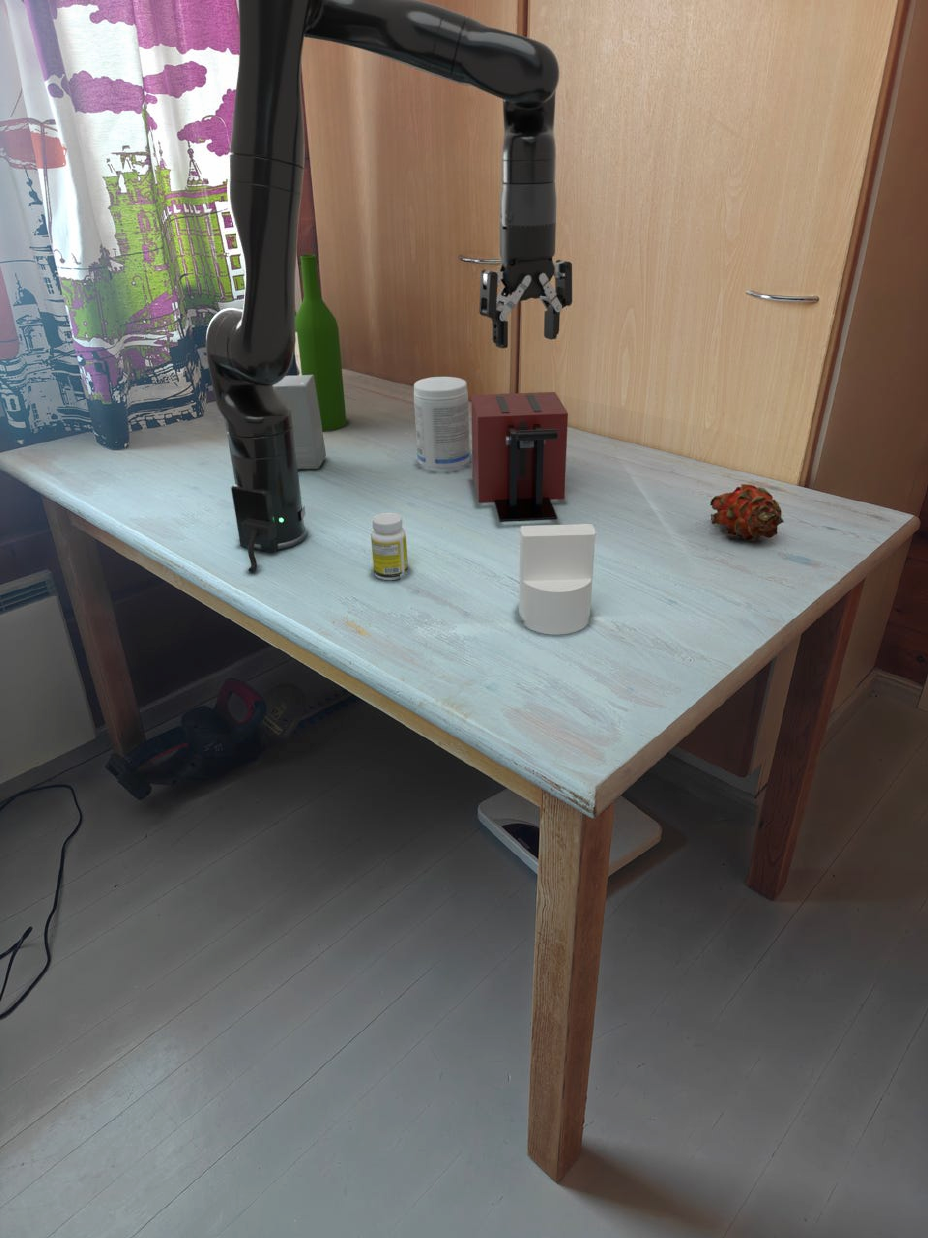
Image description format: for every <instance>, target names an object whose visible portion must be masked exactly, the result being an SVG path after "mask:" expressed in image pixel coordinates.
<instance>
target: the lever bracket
mask: <svg viewBox="0 0 928 1238" xmlns="http://www.w3.org/2000/svg"><path fill="white" fill-rule="evenodd" d="M533 430H542V428H541V426H540V424H533ZM516 432H517V431H516V429H515V426H514V425H508V436H506V438H505V442H506V446H507V499H503V500H494V502H493V503H494V508H495V511H496V515H497V518H498V522H499V523H509V522H510V523H511V522H512V523H513V522H531V521H532V522H533V521H551V520H555V521H557V520H558V516H557V513H556V511H555V508H554V505H553V503H552V500H550V499H549V497H547V498H542V487H543V454H544V444H545V442H546V440H536V441H534V448H533V463H532V498H525V499H517V445H518V441H517V438H516Z"/></svg>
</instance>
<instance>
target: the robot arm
mask: <svg viewBox="0 0 928 1238" xmlns="http://www.w3.org/2000/svg"><path fill="white" fill-rule="evenodd" d="M238 35H239V36H238V37H239V39H238V40H239V48H238V49H239V52H238V53H239V56H238V57H239V58H238V69H237V79H236V87H235V93H234V101H233V102H234V103H233V112H232V113H233V114H232V123H231V136H230V146H229V156H228V157H229V159H228V175H227V201H228V207H229V212H230V216H231V221H232V223H233V227H234V230H235V234H236V236H237V241H238V244H239V247H240V250H241V254H242V258H243V265H244V276H245V277H244V282H245V283H244V295H243V296H244V297H243V306H242V307H243V308H242V307H227V308H224V309H222V310H220V311H218V312H217V313H216V314H215V315H214V316H213V317H212V319H211V320H210V322H209V324H208V327H207V330H206V334H205V354H206V361H207V367H208V371H209V375H210V376H209V377H210V381H211V385H212V390H213V395H214V400H215V403H216V406H217V409H218V410H219V413H220V415H221V416H222V418H223V420H224V425H225V430H226V434H227V443H228V446H229V447H228V448H229V454H230V461H231V468H232V472H233V480H234V484H233V485H232V486H231V487H230V491H231V497H232V503H233V509H234V516H235V521H236V528H237V535H238V542H239V546H240V547H244V548H247V555H248V558H249V562H250V567H248V572H249V573H250V574H253V573H254V572H255V571H257V567H258V562H257V559H256V555H255V550H258V551H262V552H267V553H272V554H273V553H276V552H277V551H279V550H283V549H284V550H285V549H288V548H292V547H294V546H296V545H298V544H300V543H302V542H303V541H304V540H305V539H306V536H307V530H306V526H305V516H306V507H305V505H303V503H302V494H301V487H300V478H299V477H300V476H299V469H298V468H297V459H296V451H295V442H294V433H293V425H292V416H291V411H290V408H289V406H288V405H287V403H286V402H285V401H284V400H283V399H282V398H281V397H280V396H279V395H278V393H277V392H276V390H275V389H274V387H273V385H274V384H276V383H278V382H280V381H281V380H282V379H283V378H284V377H285V376H287V375H288V373H289V372H290V370H291V367H292V364H293V361H294V356H295V317H296V269H297V268H296V267H297V257H298V256H297V255H298V238H299V223H300V215H301V204H302V197H303V187H304V186H303V185H304V174H305V159H306V158H305V157H306V151H305V150H306V149H305V146H306V144H305V125H304V124H305V123H304V111H303V98H302V86H301V85H302V84H301V83H302V82H301V75H302V74H301V73H302V71H301V70H302V57H303V48H304V41H305V38H307V39H313V40H320V41H325V42H331V43H335V44H340V45H345V46H348V47H353V48H356V49H359V50H364V51H367V52H369V53H372V54H375V55H376V54H377V55H378V56H381V57H385V58H387V59H390V60H392V61H395V62H397V63H398V62H399V63H400V64H403V65H405V66H409V67H411V68H414V69H416V70H419V71H422V72H424V73H427V74H430V75H433V76H435V77H438V78H441V79H444V80H447V81H449V82H450V81H451V82H452V83H456V84H458V85H464V86H469V87H474V88H476V89H478V90H480V91H483V92H485V93H488V94H490V95H492V96H494V97H497V98H499V99H501V100H502V117H503V139H502V148H501V189H500V196H499V197H500V199H499V255H500V259H501V265H500V268H499V270H489V269H482V270H481V271H480V281H479V282H480V283H479V308H478V310H479V311H478V312H479V315H480V316H483V317H485V318H489V319H491V322H492V324H491V325H492V342H493V344H495V346H496V347H497V348H500V349H501V350H502V349H507V348H508V346H509V321H508V320H507V319H508V317H509V315H510V313H511V311H512V309H514V308H515V307H517V305H518V303H519V301H521V302H523V301H528V300H530V299H533V300H535V299H536V300H537V299H539V300H540V301H541V303H542V304H543V306H544V308H545V309H546V310H544V316H543V317H544V319H543V320H544V321H543V326H544V327H543V336H544V338H545V339H548V340H556V339H557V337H558V335H559V333H560V321H561V319H560V318H561V317H560V316H561V311H562V310H563V308H566V307H570V306H572V304H573V263H572V262H571V261H567V260H561V259H556V261H555V262H554V261H553V257H554V256H555V255H556V234H557V233H556V230H557V191H556V190H557V189H556V167H557V166H556V164H557V146H556V138H555V133H554V131H555V130H554V129H555V111H556V96H557V95H556V93H557V88H558V85H559V82H560V66H559V61H558V58H557V56H556V54H555V53H554V52H553V50H552V49H551V48H550V47H549V46H548V45H546V44H545V43H543V42H541V41H539V40H536V39H533V38H529V37H526V36H524V35H520V34H517V33H514V32H510V31H506V30H503V29H500V28H495V27H491V26H488V25H487V24H485V23H482V22H480V21H479V20H477V19H474V18H472V17H470V16H467V15H465V14H462V13H459V12H456V11H454V10H451V9H448V8H446V7H444V6H440V5H438V4H436V3H435V4H434V3H431V2H428V1H424V0H238ZM553 277H554V287H553V286H552V284H551V283H550V281H551V280H552V279H553ZM501 283H502V286H501V289H500V290H499V292H498V287H500V285H501Z"/></svg>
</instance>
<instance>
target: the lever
mask: <svg viewBox="0 0 928 1238" xmlns="http://www.w3.org/2000/svg"><path fill="white" fill-rule="evenodd" d="M516 438H517V441H518V445H517V449H529V448H534V441H536V440H557V438H558V432H557V429H545V430H521V431H517V432H516Z"/></svg>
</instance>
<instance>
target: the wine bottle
mask: <svg viewBox="0 0 928 1238" xmlns="http://www.w3.org/2000/svg"><path fill="white" fill-rule="evenodd" d="M299 258H300V266H301V280H302V289H303V299H302V302H301V304H300V306H299V308H298V310H297V312H296V313H295V351H294V356H295V367H296V374H297V375H296V376H299V375H314V379H315V386H316V392H317V399H318V406H319V412H320V419H321V425H322V432H329V431H334V430H338V429H342V428H343V427H345V426H346V424H347V412H346V401H345V399H346V398H345V389H344V377H343V365H342V364H343V363H342V357H341V355H342V354H341V344H340V343H341V342H340V332H339V331H340V330H339V325H338V322H337V318H336V317H335V316H334V313H332V312H331V310H330V308H329V307H328V305H327V304H326V303H325V302H324V300H323V299H322V296H321V288H320V280H319V273H318V272H319V271H318V263H317V255H316V254H301V255H300V257H299Z"/></svg>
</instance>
